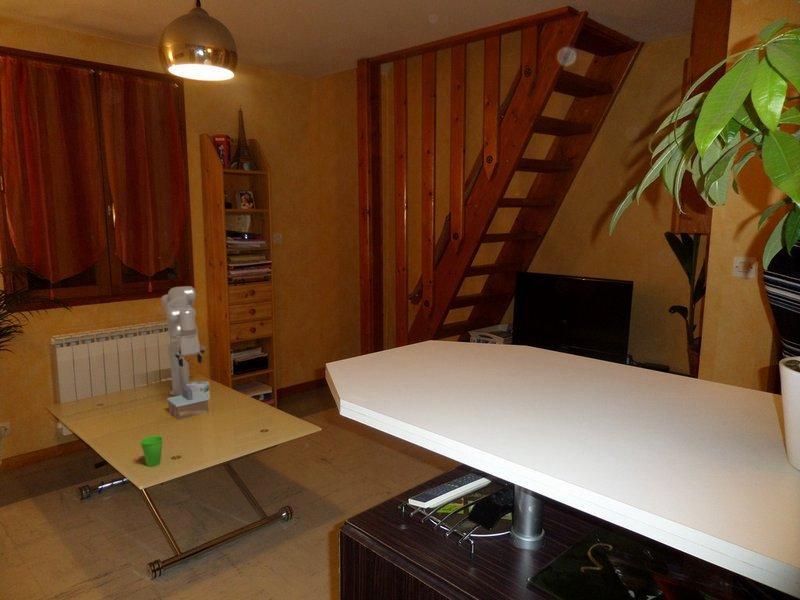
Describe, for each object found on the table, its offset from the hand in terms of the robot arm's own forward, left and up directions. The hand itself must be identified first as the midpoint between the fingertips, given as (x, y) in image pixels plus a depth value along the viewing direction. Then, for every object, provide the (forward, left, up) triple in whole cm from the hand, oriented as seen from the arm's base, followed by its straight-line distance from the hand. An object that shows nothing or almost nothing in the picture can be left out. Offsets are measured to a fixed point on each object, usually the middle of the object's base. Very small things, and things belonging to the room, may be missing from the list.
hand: (190, 364), depth 290 cm
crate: (-1, -2, -27) cm, 27 cm away
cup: (+50, -35, -28) cm, 67 cm away
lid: (-1, -2, -20) cm, 21 cm away
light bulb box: (-19, +10, -28) cm, 35 cm away
